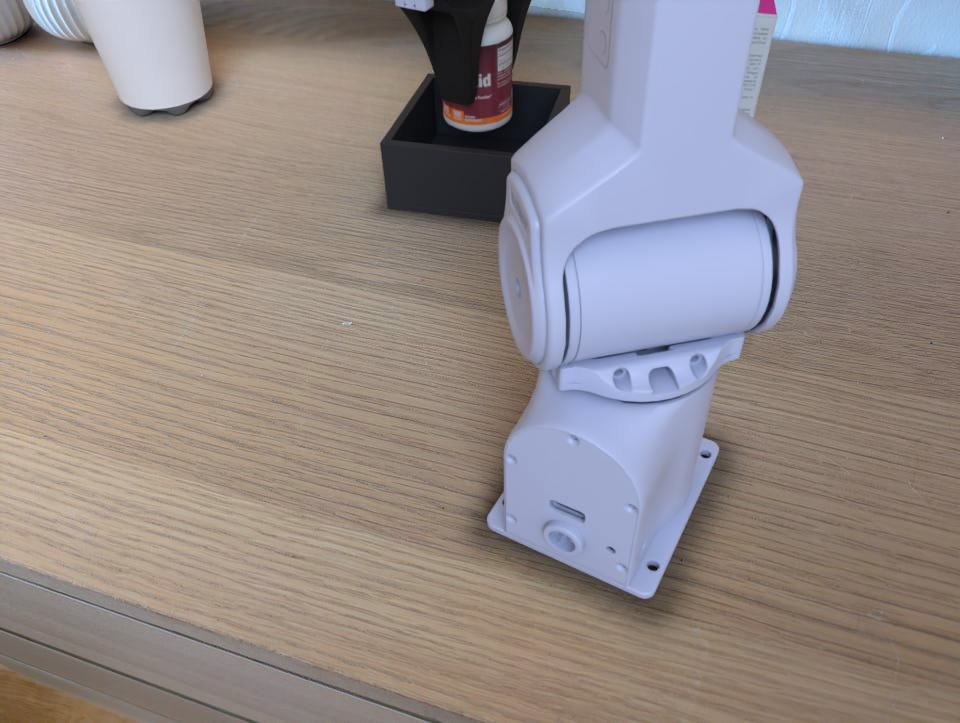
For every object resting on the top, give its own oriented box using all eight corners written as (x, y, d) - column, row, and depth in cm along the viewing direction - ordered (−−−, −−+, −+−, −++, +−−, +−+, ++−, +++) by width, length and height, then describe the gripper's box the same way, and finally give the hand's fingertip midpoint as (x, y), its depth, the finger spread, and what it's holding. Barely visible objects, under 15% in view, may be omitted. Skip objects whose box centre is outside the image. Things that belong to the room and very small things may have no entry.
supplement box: (742, 179, 58) (779, 15, 50) (658, 172, 59) (680, 10, 51) (740, 139, 62) (774, -18, 54) (661, 133, 63) (683, -22, 55)
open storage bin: (539, 227, 54) (541, 160, 51) (387, 208, 57) (379, 143, 53) (567, 148, 62) (570, 85, 58) (432, 134, 64) (427, 72, 61)
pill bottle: (431, 127, 55) (422, -1, 49) (460, 97, 58) (454, -27, 53) (497, 139, 54) (495, 8, 48) (522, 107, 57) (524, -19, 51)
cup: (213, 125, 66) (167, -42, 57) (92, 128, 66) (28, -39, 58) (239, 72, 73) (202, -84, 65) (130, 75, 73) (79, -81, 65)
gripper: (474, -184, 51) (480, 34, 60) (334, -129, 42) (366, 117, 51) (577, -176, 48) (567, 51, 58) (451, -115, 39) (463, 142, 49)
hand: (478, 84), depth 54 cm, fingers closed on pill bottle, 5 cm apart
